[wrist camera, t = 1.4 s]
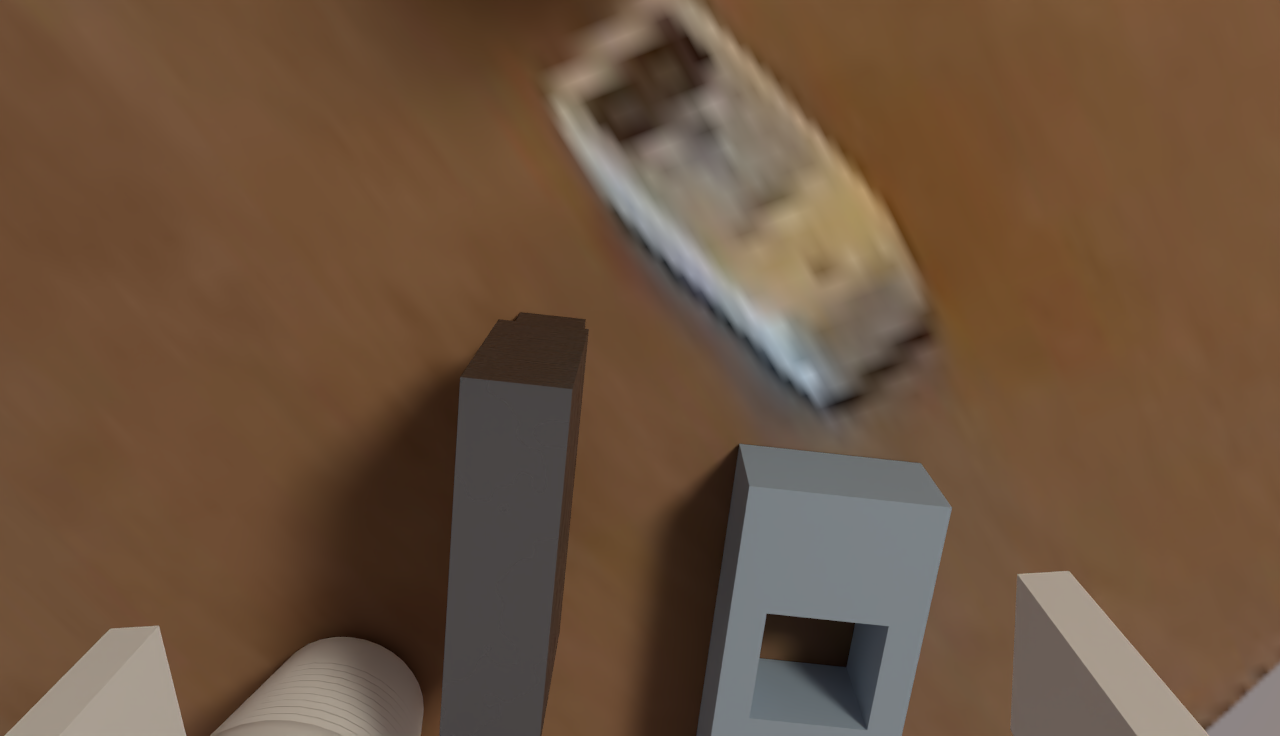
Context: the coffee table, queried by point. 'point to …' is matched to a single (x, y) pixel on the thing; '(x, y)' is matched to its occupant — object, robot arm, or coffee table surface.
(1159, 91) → the coffee table surface
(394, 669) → the cup
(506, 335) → the clip
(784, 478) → the grey block with hole
